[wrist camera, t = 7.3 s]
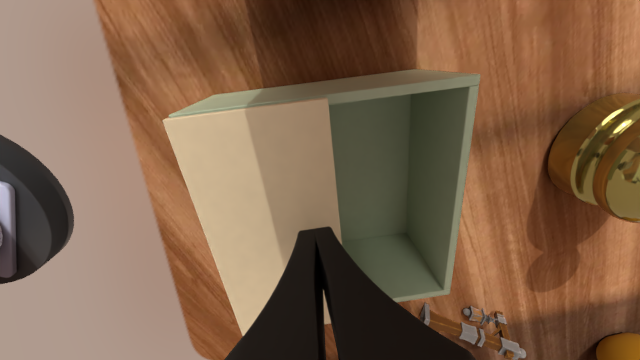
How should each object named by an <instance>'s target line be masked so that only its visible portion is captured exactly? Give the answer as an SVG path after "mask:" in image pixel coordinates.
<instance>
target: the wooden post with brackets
mask: <svg viewBox="0 0 640 360" xmlns="http://www.w3.org/2000/svg"><path fill="white" fill-rule="evenodd" d="M463 313H464V314H465V315H466V316H468V318H469V321H470V320H473V321H477V322H480V324H481V325H483V323H484V321H488V324H489V322H493V323H495V325H496V327H497V330H496V331H494V332H493V333H492V334H491V335H489V334H487V333H484V332H483V329H480V328H479V330H477V329H476V327H474V326H470V325H467V324H464V323H463V322H461V323H457V322H454V321H452V320H449V319H447V318H445V317H443V316H441V315H438V314H436V313H434V312H433V311H431V310H429V305H427V304H426V303H425V304H424V307H423V310H422V312H421V315H420V321H422V322H423V323H425V324H426V325H427V326H429V327H430V328H432V329H433V330H437V331H441V332H446V333H451V334H454V335H457V336H459V339H464V340H466V341H469V342H471V343H473V344H475V343H477V345H478V346H480V347H481V346H482V345H484V346H486V347H489V348H491V349H494V350H497V351H498V354H501V355H504V358H507V359H510V360H512V359H514V360H517V359H518V358H519V357H520V358H525V357H526V352H525V351H524V350H523V349H522V348H519V345H518V343H514V342H512V341H510V337H509V334H508V331H507V327H506V325H507V323H506V320H505V318H504V315H503V313H502V312H500V311H495V313H494V317H495V318H494V319H492V318H491V317H490V315H488V317H487V315H485V313H484V309H483V308H482V310H478V309H476V308H473V307H472V306H470V308H469V309H467V308H465V309H463ZM491 319H492V321H491ZM494 320H495V321H494ZM498 333H499V336H500V338H496V337H494V336H495V335H497V334H498Z"/></svg>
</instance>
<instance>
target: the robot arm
mask: <svg viewBox="0 0 640 360" xmlns="http://www.w3.org/2000/svg"><path fill="white" fill-rule="evenodd" d="M16 271H17V265H16V213H15V189H14V188H13V186H11V185H10V184H8V183H6V182H2V181H0V277H5V278H8V277H11V276H12V275H14V274H15V273H16ZM323 290H324V295H325V299H326V303H327V307H328V312H329V316H330V320H331V325H332V329H333V333H334V338H335V342H336V347H337V352H338V358H339V360H476V359H475V358H474V357H473V355H472V354H471V353H470V352H469V351H468V350H466V349H464V348H463V347H461V346H459V345H458V344H456V343H454V342H453V341H451V340H449V339H448V338H446V337H444V336H443V335H441V334H439V333H438V332H436V331H435V330H433V329H432V328H430V327H429V326H427V325H426V324H425V323H423V322H422V321H420V320H419V319H417V318H416V317H415V316H413V315H412V314H411V313H409V312H408V311H407V310H406V309H404V308H403V307H402V306H400V305H399V304H398V303H396V302H395V301H394V300H393V299H392V298H390V297H389V296H388V295H387V294H386V293H385V292H384V291H382V290H381V289H380V288H379V287H378V286H377V285H376V284H375V283H374V282H373V281H372V280H371V279H370V278H369V277H368V276H367V275H366V274H365V273H364V272H363V271H362V270H361V269H360V267H359V266H358V265H357V264H356V263H355V262H354V261H353V259H352V258H351V257H350V255H349V254H348V253H347V252H346V250H345V249H344V248H343V246H342V245H341V243H340V242H339V240H338V239H337V237H336V236H335V234H334V232H333V230H332V228H331V227H329V226H328V227H321V228H315V229H308V230H301V231H299V232H298V235H297V239H296V243H295V246H294V248H293V251H292V254H291V256H290V259H289V261H288V263H287V266H286V268H285V270H284V272H283V274H282V276H281V278H280V280H279V282H278V284H277V286H276V288H275V290H274V291H273V293H272V295H271V297H270V298H269V300H268V301H267V303H266V305H265V306H264V308H263V309H262V311H261V312H260V314H259V315H258V317H257V318H256V320H255V321H254V322H253V324H252V325H251V327H250V328H249V329H248V331H247V332H246V333H245V335H244V336H243V337H242V338H241V340H240V341H239V342H238V343H237V345H236V346H235V347H234V348H233V350H232V351H231V352H230V353H229V354H228V356H227V357H226V358H225V359H224V360H326V350H325V328H324V299H323Z"/></svg>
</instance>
